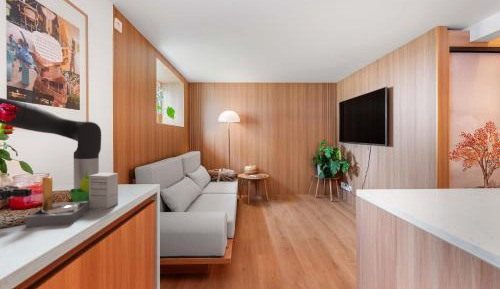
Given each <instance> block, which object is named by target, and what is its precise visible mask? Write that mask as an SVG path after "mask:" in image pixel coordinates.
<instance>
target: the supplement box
mask: <svg viewBox="0 0 500 289" xmlns="http://www.w3.org/2000/svg"><path fill="white" fill-rule="evenodd" d="M89 201H90V209H94V210H95V209H97V210H99V209H101V210H108V209H110V208H112V207H114V206H116V205H118V204H119V173H117V172H99V173H98V174H94V175H90V176H89Z"/></svg>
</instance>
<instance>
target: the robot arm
mask: <svg viewBox="0 0 500 289" xmlns="http://www.w3.org/2000/svg"><path fill="white" fill-rule="evenodd" d="M2 103H6V104H11V105H14V106H15V107H18V108H20V111H16V112H15V115H16V118H13V119H12V120H11V121H10V122H5V121H2V120H0V124H2V125H6V126H9V127H12V128H18V129H23V130H27V131H31V132H37V133H45V134H52V135H58V136H60V137H65V138H66V139H71V140H73V141H75V142H77V148H76V150H74V152H73V189H77V188H80V182H81V181H82V179H83V178H84V177H86V176H90V175H94V174H98V173H100V170H99V169H100V167H99V166H100V165H99V158H100V157H99V156H100V152H101V151H102V150H101V149H102V130H101V127H100V126H99V125H98V123H96V122H94V121H77V120H72V119H68V118H64V117H61V116H58V115H56V114H54V113H52V112H50V111H48V110H46V109H43V108H40V107H37V106H35V105H32V104H29V103H25V102H21V101H16V100H13V99H7V98H3V97H0V104H2ZM21 113H22V115H20V114H21ZM32 190H33V189H32V188H19V186H14V185H5V186H0V201H6V200H8V199H14V198H22V197H25V198H26V197H29V196H31V195H32V194H33V191H32Z"/></svg>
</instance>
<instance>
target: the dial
mask: <svg viewBox="0 0 500 289" xmlns="http://www.w3.org/2000/svg"><path fill="white" fill-rule="evenodd" d="M41 180H42V182H41V183H42V207H41V209H42V214H49V213H50V214H54V213H71V212H74V206H75V205H78V209H79V203H77V202H73V201H63V202H62V201H61V202H62V203H60V202H54V203H55V204H52V203H53V176H44V177H42V179H41Z"/></svg>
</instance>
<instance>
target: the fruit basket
mask: <svg viewBox="0 0 500 289" xmlns="http://www.w3.org/2000/svg"><path fill="white" fill-rule="evenodd" d="M69 194H70V196H71V200H72V202H81V201H89V176H86V177H84V178H83V179H82V181H81V182H80V188H77V189H74V188H71V189H70V191H69Z"/></svg>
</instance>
